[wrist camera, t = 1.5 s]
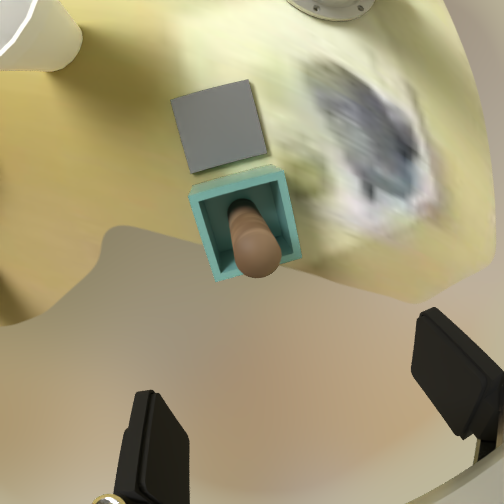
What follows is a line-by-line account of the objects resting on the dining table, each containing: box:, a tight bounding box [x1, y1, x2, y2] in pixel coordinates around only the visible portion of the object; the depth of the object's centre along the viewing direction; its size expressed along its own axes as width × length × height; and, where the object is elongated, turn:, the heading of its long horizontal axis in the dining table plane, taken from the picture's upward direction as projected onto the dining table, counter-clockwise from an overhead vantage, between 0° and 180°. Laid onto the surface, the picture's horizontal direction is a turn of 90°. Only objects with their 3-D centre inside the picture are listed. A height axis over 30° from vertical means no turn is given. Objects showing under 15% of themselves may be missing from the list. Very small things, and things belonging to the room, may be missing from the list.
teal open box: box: [188, 164, 302, 282], centre depth 30 cm, size 8×8×6 cm
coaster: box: [170, 80, 267, 173], centre depth 28 cm, size 8×8×1 cm
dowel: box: [227, 198, 282, 278], centre depth 26 cm, size 3×3×12 cm
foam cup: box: [0, 0, 83, 72], centre depth 16 cm, size 10×9×13 cm
